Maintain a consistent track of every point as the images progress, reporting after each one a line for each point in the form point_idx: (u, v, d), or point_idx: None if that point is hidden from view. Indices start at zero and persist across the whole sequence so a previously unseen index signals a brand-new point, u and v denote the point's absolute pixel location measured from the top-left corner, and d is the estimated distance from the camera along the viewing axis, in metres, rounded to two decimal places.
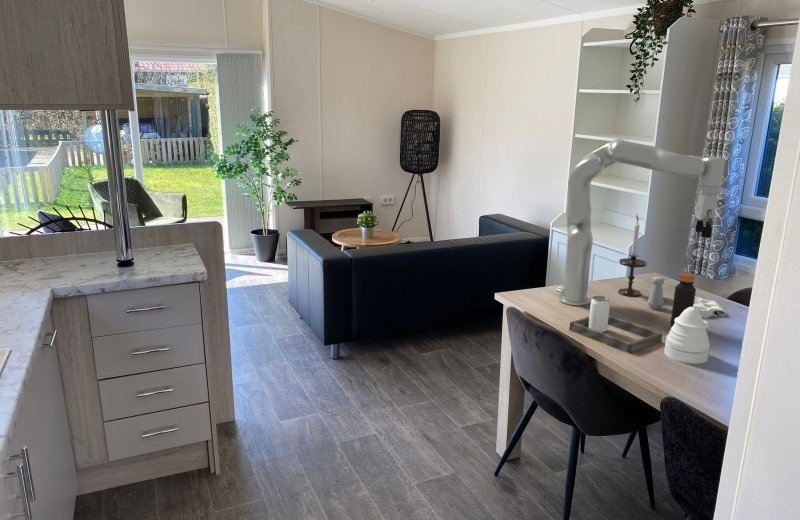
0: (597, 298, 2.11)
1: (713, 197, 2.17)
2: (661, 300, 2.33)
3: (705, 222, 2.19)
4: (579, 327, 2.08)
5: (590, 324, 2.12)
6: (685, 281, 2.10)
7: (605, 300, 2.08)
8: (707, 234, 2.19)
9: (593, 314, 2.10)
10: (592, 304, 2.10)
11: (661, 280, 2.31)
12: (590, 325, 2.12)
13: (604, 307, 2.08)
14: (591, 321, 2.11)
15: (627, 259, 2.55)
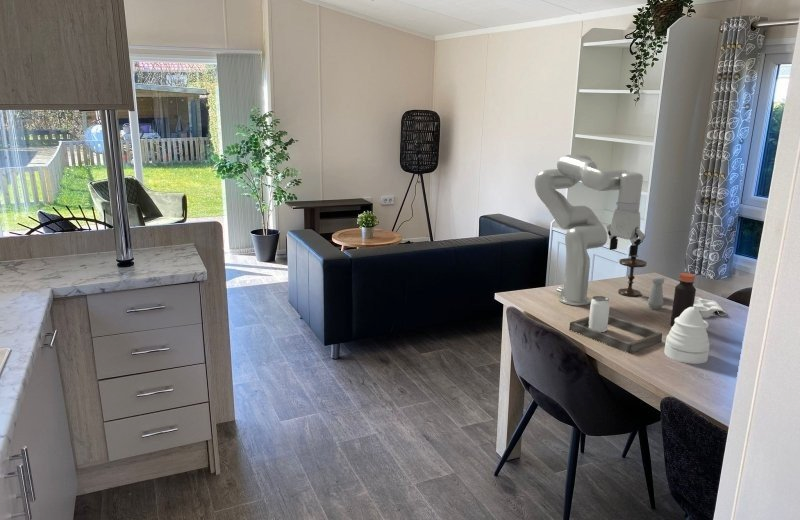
0: (597, 298, 2.11)
1: (638, 214, 2.10)
2: (661, 300, 2.33)
3: None
4: (579, 327, 2.08)
5: (590, 324, 2.12)
6: (685, 281, 2.10)
7: (605, 300, 2.08)
8: (636, 252, 2.12)
9: (593, 314, 2.10)
10: (592, 304, 2.10)
11: (661, 280, 2.31)
12: (590, 325, 2.12)
13: (604, 307, 2.08)
14: (591, 321, 2.11)
15: (627, 259, 2.55)
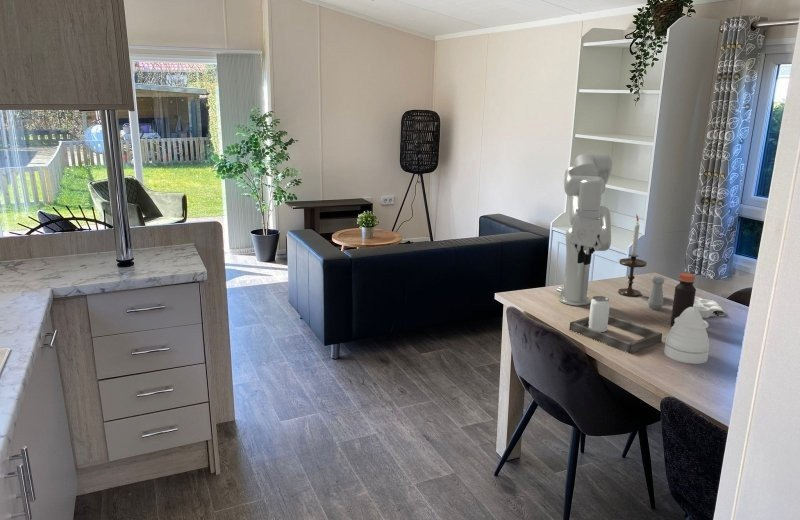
0: (597, 298, 2.11)
1: (599, 221, 2.07)
2: (661, 300, 2.33)
3: (589, 250, 2.10)
4: (579, 327, 2.08)
5: (590, 324, 2.12)
6: (685, 281, 2.10)
7: (605, 300, 2.08)
8: (589, 261, 2.12)
9: (593, 314, 2.10)
10: (592, 304, 2.10)
11: (661, 280, 2.31)
12: (590, 325, 2.12)
13: (604, 307, 2.08)
14: (591, 321, 2.11)
15: (627, 259, 2.55)
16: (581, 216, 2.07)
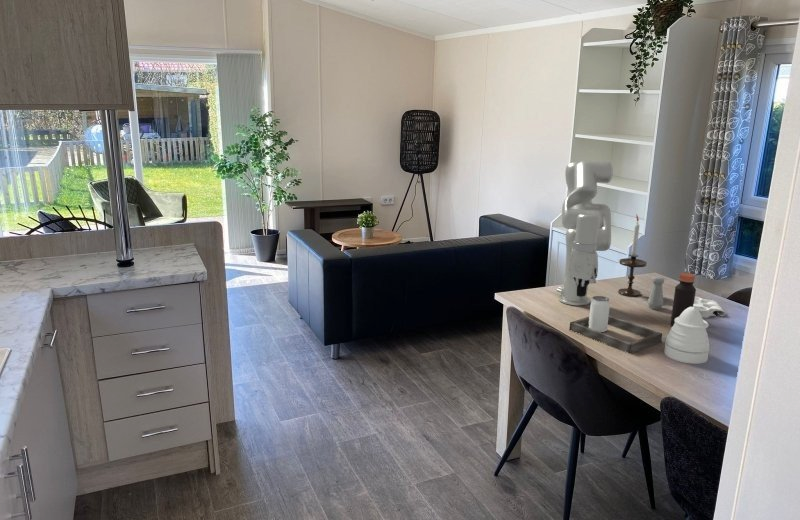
0: (597, 298, 2.11)
1: (596, 255, 2.10)
2: (661, 300, 2.33)
3: (584, 283, 2.13)
4: (579, 327, 2.08)
5: (590, 324, 2.12)
6: (685, 281, 2.10)
7: (605, 300, 2.08)
8: (584, 293, 2.15)
9: (593, 314, 2.10)
10: (592, 304, 2.10)
11: (661, 280, 2.31)
12: (590, 325, 2.12)
13: (604, 307, 2.08)
14: (591, 321, 2.11)
15: (627, 259, 2.55)
16: (578, 250, 2.10)
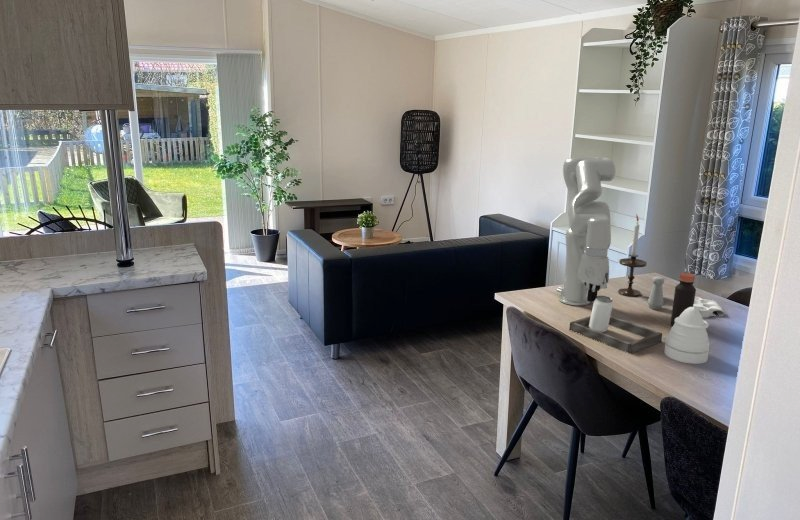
0: (601, 298, 2.09)
1: (607, 259, 2.06)
2: (661, 300, 2.33)
3: (595, 288, 2.10)
4: (579, 327, 2.08)
5: (591, 323, 2.11)
6: (685, 281, 2.10)
7: (609, 302, 2.07)
8: (595, 298, 2.12)
9: (595, 314, 2.09)
10: (595, 304, 2.08)
11: (661, 280, 2.31)
12: (591, 324, 2.11)
13: (607, 309, 2.07)
14: (593, 320, 2.10)
15: (627, 259, 2.55)
16: (589, 254, 2.07)
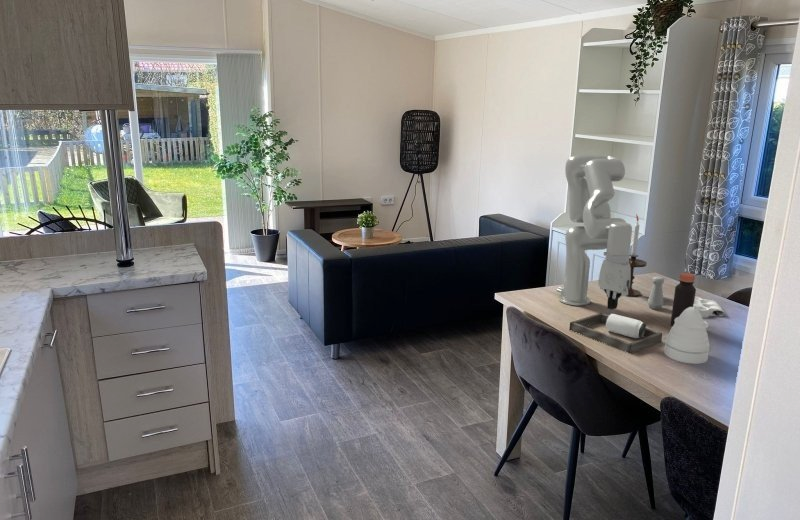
0: (642, 327, 2.04)
1: (629, 266, 1.99)
2: (661, 300, 2.33)
3: (616, 295, 2.03)
4: (579, 327, 2.08)
5: (614, 316, 2.09)
6: (685, 281, 2.10)
7: (639, 335, 2.03)
8: (616, 306, 2.05)
9: (625, 321, 2.05)
10: (636, 322, 2.04)
11: (661, 280, 2.31)
12: (613, 316, 2.09)
13: (631, 333, 2.04)
14: (618, 318, 2.07)
15: None
16: (610, 261, 2.00)
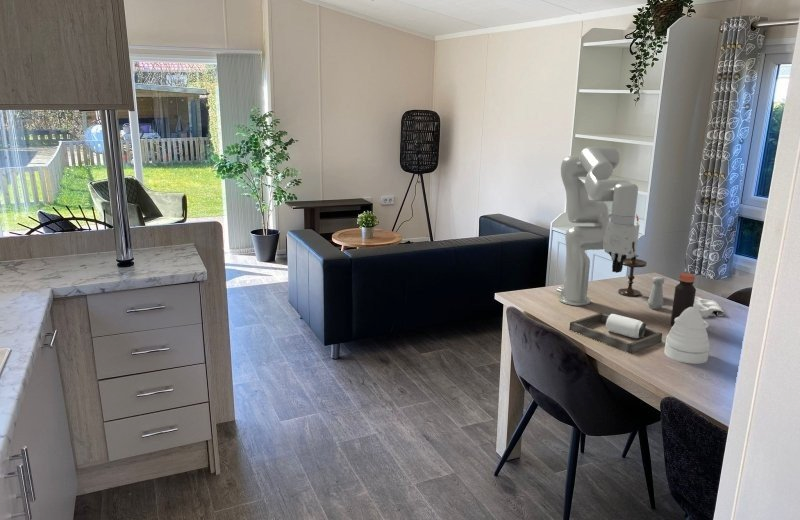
0: (642, 327, 2.04)
1: (634, 227, 1.96)
2: (661, 300, 2.33)
3: (621, 258, 2.00)
4: (579, 327, 2.08)
5: (614, 316, 2.09)
6: (685, 281, 2.10)
7: (639, 335, 2.03)
8: (621, 269, 2.02)
9: (625, 321, 2.05)
10: (636, 322, 2.04)
11: (661, 280, 2.31)
12: (613, 316, 2.09)
13: (631, 333, 2.04)
14: (618, 318, 2.07)
15: (627, 259, 2.55)
16: (615, 222, 1.97)
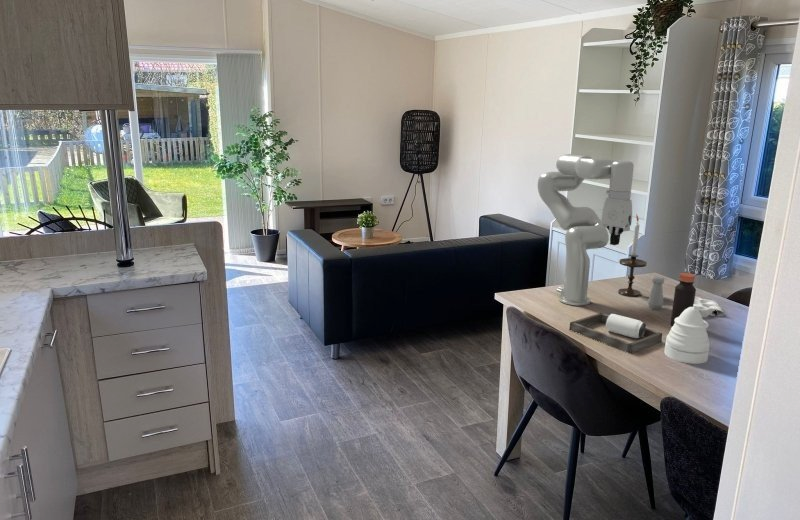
0: (642, 327, 2.04)
1: (630, 202, 2.10)
2: (661, 300, 2.33)
3: (618, 231, 2.14)
4: (579, 327, 2.08)
5: (614, 316, 2.09)
6: (685, 281, 2.10)
7: (639, 335, 2.03)
8: (618, 241, 2.16)
9: (625, 321, 2.05)
10: (636, 322, 2.04)
11: (661, 280, 2.31)
12: (613, 316, 2.09)
13: (631, 333, 2.04)
14: (618, 318, 2.07)
15: (627, 259, 2.55)
16: (612, 197, 2.11)
